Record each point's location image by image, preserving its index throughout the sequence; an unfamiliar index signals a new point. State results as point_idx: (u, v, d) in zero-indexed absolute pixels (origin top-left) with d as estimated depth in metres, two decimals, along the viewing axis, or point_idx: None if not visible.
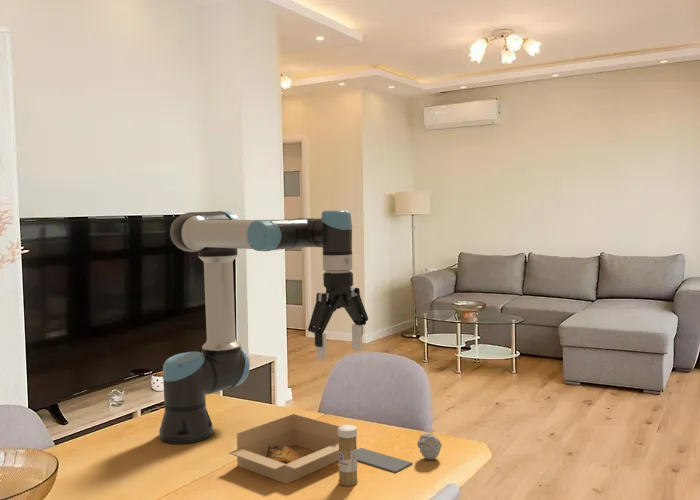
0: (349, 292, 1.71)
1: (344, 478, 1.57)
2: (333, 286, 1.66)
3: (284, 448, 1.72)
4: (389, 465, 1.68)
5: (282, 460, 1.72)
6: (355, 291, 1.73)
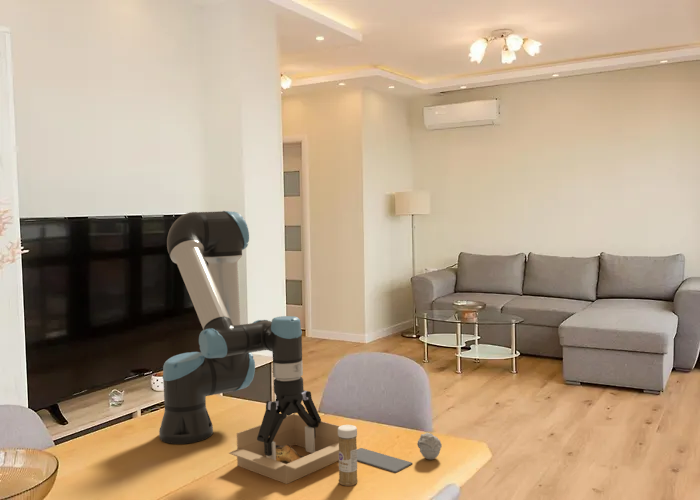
0: (300, 397, 1.73)
1: (344, 478, 1.57)
2: (283, 394, 1.67)
3: (285, 447, 1.73)
4: (389, 465, 1.68)
5: (282, 459, 1.72)
6: (306, 395, 1.75)
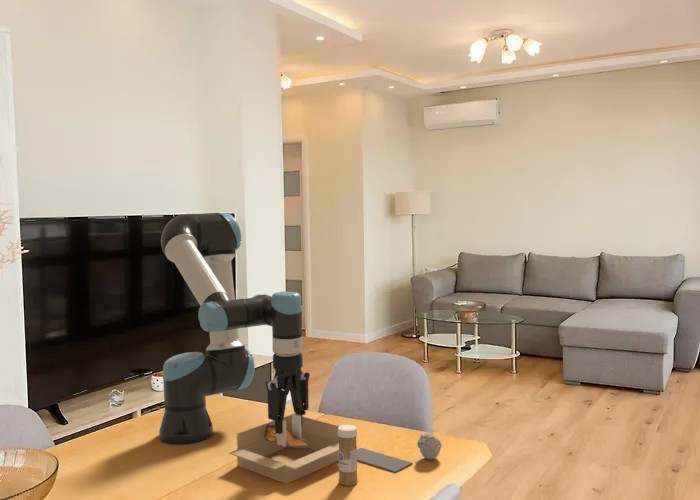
0: (299, 372, 1.73)
1: (344, 478, 1.57)
2: (282, 369, 1.68)
3: None
4: (389, 465, 1.68)
5: None
6: (305, 375, 1.75)
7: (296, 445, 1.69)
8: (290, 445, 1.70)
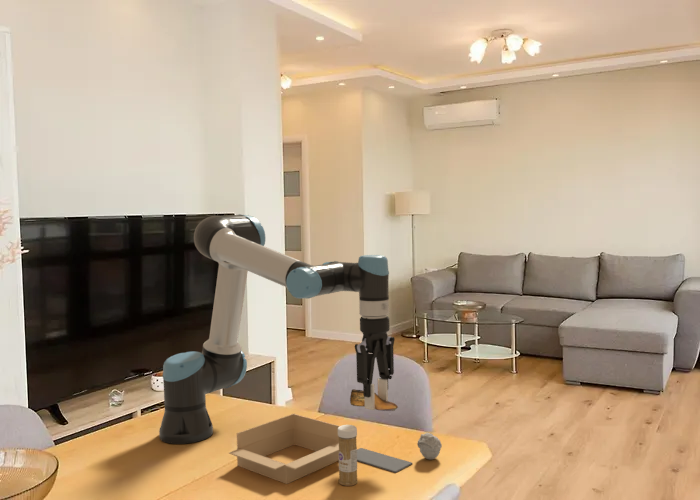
0: (385, 336, 1.72)
1: (344, 478, 1.57)
2: (370, 332, 1.67)
3: None
4: (389, 465, 1.68)
5: None
6: (390, 339, 1.74)
7: (385, 408, 1.68)
8: (379, 408, 1.68)
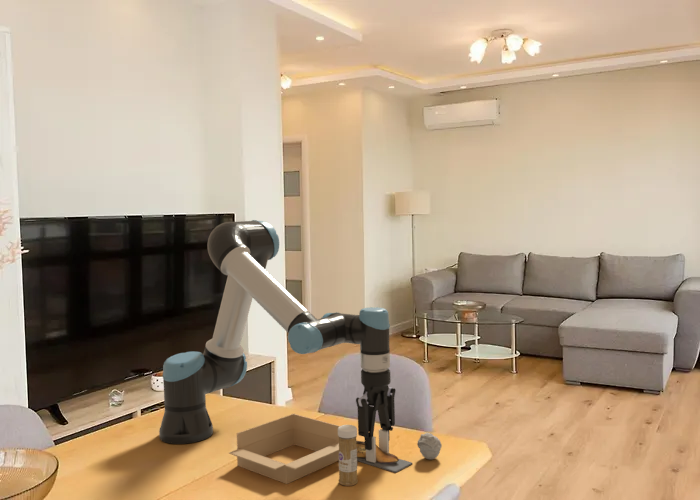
0: (386, 388, 1.73)
1: (344, 478, 1.57)
2: (371, 385, 1.68)
3: None
4: (389, 465, 1.68)
5: None
6: (391, 391, 1.75)
7: (386, 461, 1.69)
8: (380, 461, 1.69)
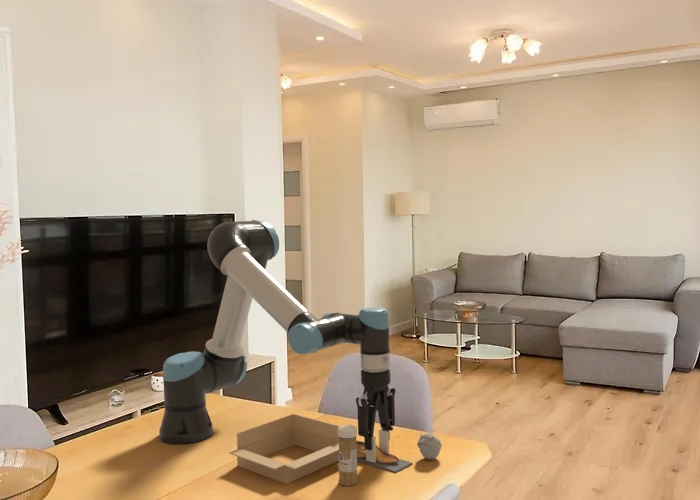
0: (386, 388, 1.73)
1: (344, 478, 1.57)
2: (371, 385, 1.68)
3: None
4: (389, 465, 1.68)
5: None
6: (391, 391, 1.75)
7: (386, 461, 1.69)
8: (380, 461, 1.69)
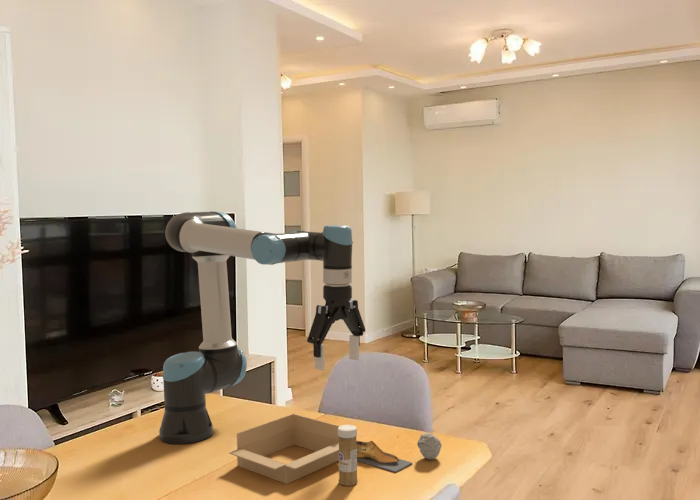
0: (348, 304, 1.77)
1: (344, 478, 1.57)
2: (332, 299, 1.72)
3: (368, 444, 1.72)
4: (389, 465, 1.68)
5: (366, 455, 1.72)
6: (353, 303, 1.79)
7: (386, 461, 1.69)
8: (380, 461, 1.69)
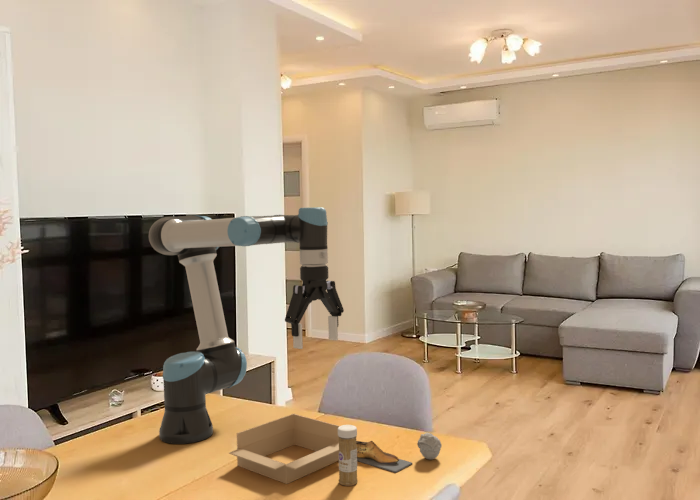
0: (325, 285, 1.80)
1: (344, 478, 1.57)
2: (309, 279, 1.75)
3: (368, 444, 1.72)
4: (389, 465, 1.68)
5: (366, 455, 1.72)
6: (331, 284, 1.83)
7: (386, 461, 1.69)
8: (380, 461, 1.69)
